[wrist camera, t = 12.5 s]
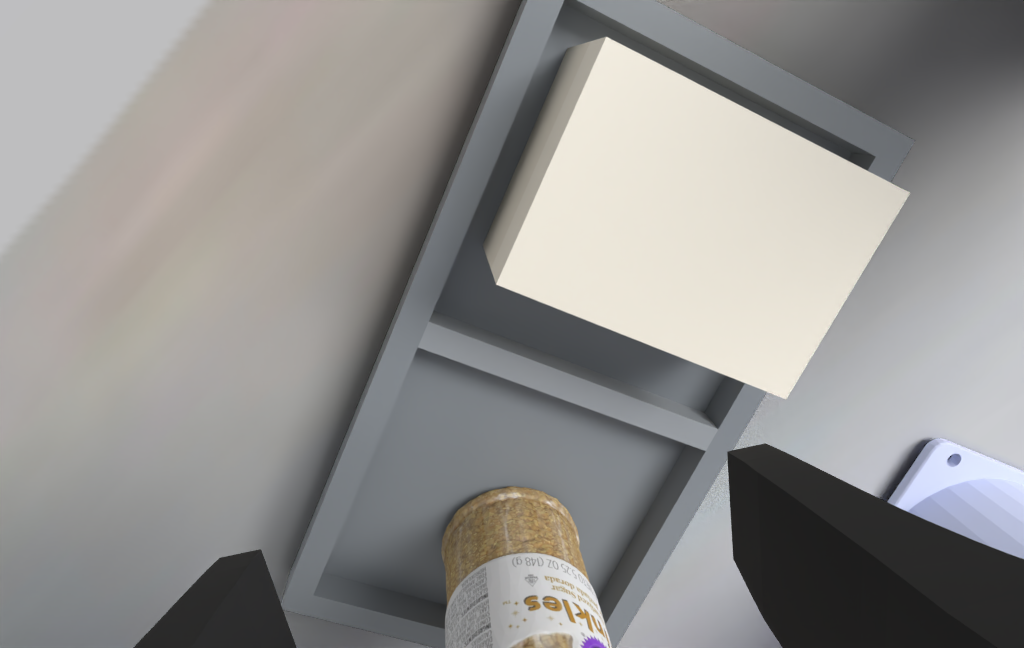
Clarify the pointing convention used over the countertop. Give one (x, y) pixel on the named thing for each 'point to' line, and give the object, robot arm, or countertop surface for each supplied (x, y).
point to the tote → (540, 362)
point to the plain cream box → (685, 219)
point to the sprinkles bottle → (518, 576)
